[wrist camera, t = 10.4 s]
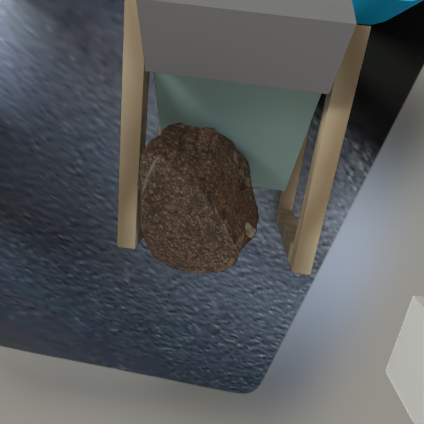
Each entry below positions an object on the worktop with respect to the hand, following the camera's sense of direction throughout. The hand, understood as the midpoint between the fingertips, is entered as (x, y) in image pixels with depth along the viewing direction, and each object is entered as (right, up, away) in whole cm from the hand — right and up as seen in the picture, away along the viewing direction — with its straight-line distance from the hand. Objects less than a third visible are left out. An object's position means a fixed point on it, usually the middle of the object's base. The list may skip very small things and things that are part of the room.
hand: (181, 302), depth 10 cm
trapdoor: (+3, +12, +18) cm, 22 cm away
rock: (+1, +8, +20) cm, 22 cm away
